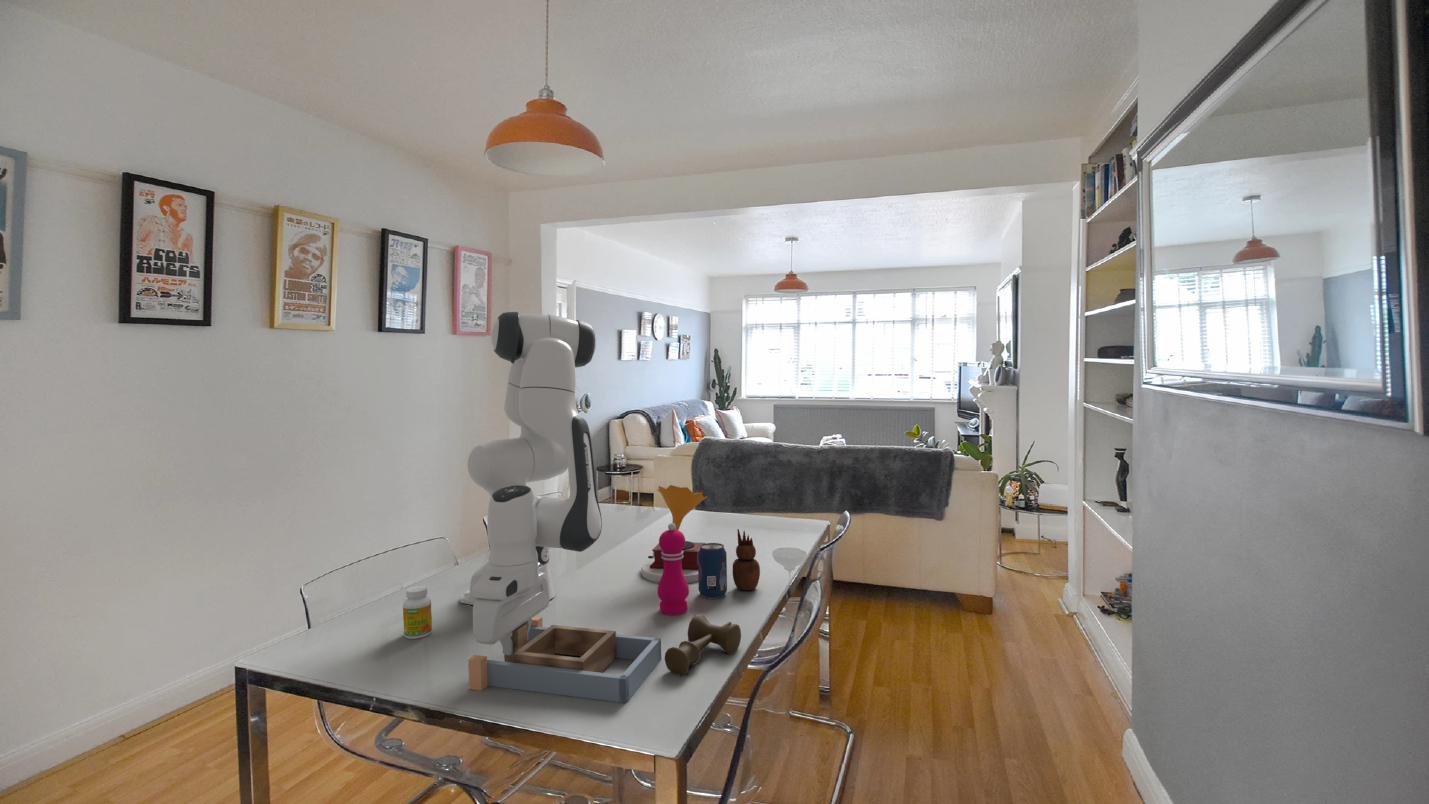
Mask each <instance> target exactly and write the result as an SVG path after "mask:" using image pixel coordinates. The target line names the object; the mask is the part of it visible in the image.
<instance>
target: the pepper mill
mask: <svg viewBox="0 0 1429 804" xmlns="http://www.w3.org/2000/svg"><path fill="white" fill-rule="evenodd" d="M667 529H668V530H664V531H663V532H662V533H661V534H660V536H659V539H658V544H659V546H660V548H661V549H662V550H663V551H662V552H661V554H662V556H661V558H662V559H663V561H664V570H663V574H662V577H661V579H660V582H658V585H657V592H656V593H657V594H656V595H657V597H658V599H660V602H659V611H660V613H661V614H662V615H663V614H664V615H667V616H678V615H682V614H684V613H686V612H687V611H688V601H687V600H686V599H687V598H688V596H689V594H690V589H689V584H688V583H687V581H686V578H685V576H684V574H683V571H682V565H681V561H682V558H683V551H682V549H683V547H684V546H685V541H686V536H685V534H683V532H682V531H681V530H675V529H676V526H675V524H674V523H672V522H671V523H669V524H668V526H667Z"/></svg>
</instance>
